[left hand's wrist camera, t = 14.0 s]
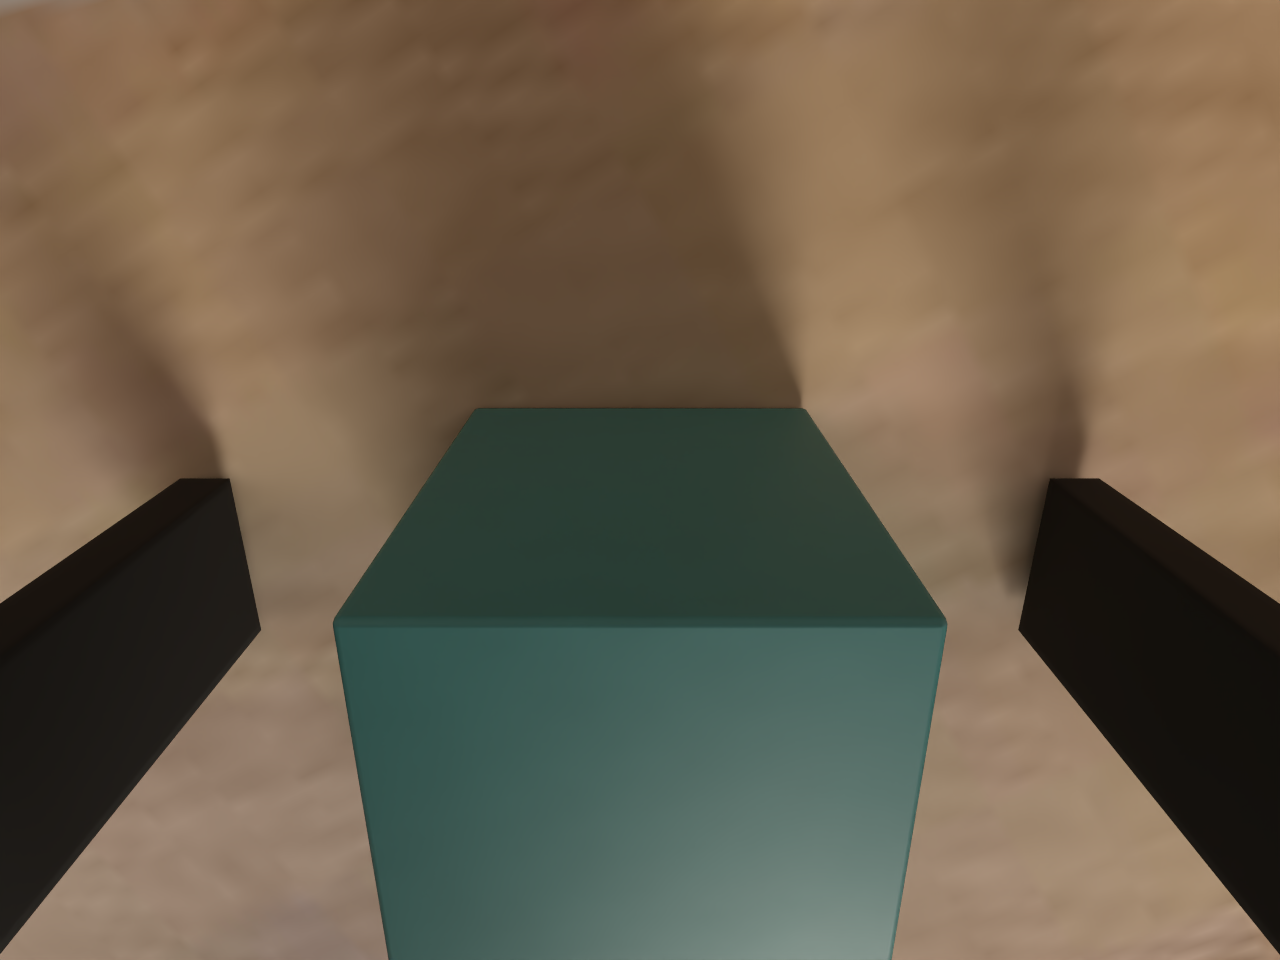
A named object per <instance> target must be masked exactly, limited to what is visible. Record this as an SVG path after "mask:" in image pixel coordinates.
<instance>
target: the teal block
mask: <svg viewBox="0 0 1280 960" xmlns="http://www.w3.org/2000/svg"><path fill="white" fill-rule="evenodd" d="M333 629H334V635H335V641H336V647H337V653H338V659H339V665H340V671H341V677H342V683H343V689H344V695H345V701H346V707H347V713H348V719H349V725H350V731H351V737H352V743H353V749H354V755H355V760H356V766H357V772H358V778H359V784H360V790H361V796H362V802H363V808H364V814H365V820H366V826H367V832H368V838H369V844H370V850H371V856H372V862H373V868H374V874H375V880H376V886H377V892H378V898H379V904H380V910H381V916H382V922H383V928H384V934H385V940H386V946H387V952H388V958H389V960H891V959H892V953H893V947H894V941H895V935H896V929H897V923H898V917H899V911H900V905H901V899H902V893H903V887H904V881H905V875H906V869H907V863H908V857H909V851H910V845H911V839H912V833H913V827H914V821H915V815H916V809H917V804H918V798H919V792H920V786H921V780H922V774H923V768H924V762H925V756H926V750H927V744H928V738H929V732H930V726H931V720H932V714H933V708H934V702H935V696H936V690H937V684H938V678H939V672H940V666H941V660H942V654H943V648H944V642H945V636H946V630H947V621H946V618H945V616H944V615H943V613H942V612H941V610H940V609H939V607H938V606H937V605H936V603H935V602H934V600H933V599H932V597H931V596H930V594H929V593H928V591H927V590H926V588H925V587H924V585H923V584H922V582H921V581H920V579H919V578H918V576H917V575H916V573H915V572H914V570H913V569H912V567H911V566H910V564H909V563H908V561H907V560H906V558H905V557H904V555H903V554H902V552H901V551H900V549H899V548H898V546H897V545H896V543H895V542H894V540H893V539H892V537H891V536H890V534H889V533H888V532H887V530H886V529H885V527H884V526H883V524H882V523H881V521H880V520H879V518H878V517H877V515H876V514H875V512H874V511H873V509H872V508H871V506H870V505H869V503H868V502H867V500H866V499H865V497H864V496H863V494H862V493H861V491H860V490H859V488H858V487H857V485H856V484H855V482H854V481H853V479H852V478H851V476H850V475H849V473H848V472H847V470H846V469H845V467H844V466H843V464H842V463H841V461H840V460H839V459H838V457H837V456H836V454H835V453H834V451H833V450H832V448H831V447H830V445H829V444H828V442H827V441H826V439H825V438H824V436H823V435H822V433H821V432H820V430H819V429H818V427H817V426H816V424H815V423H814V421H813V420H812V418H811V417H810V415H809V414H808V412H807V411H806V410H805V409H802V408H478V409H475V410H474V412H473V413H472V415H471V416H470V418H469V419H468V421H467V422H466V424H465V425H464V427H463V428H462V429H461V431H460V432H459V434H458V435H457V437H456V438H455V440H454V441H453V443H452V444H451V446H450V447H449V449H448V450H447V452H446V453H445V455H444V456H443V458H442V459H441V461H440V462H439V464H438V465H437V467H436V468H435V470H434V471H433V473H432V474H431V475H430V477H429V478H428V480H427V481H426V483H425V484H424V486H423V487H422V489H421V490H420V492H419V493H418V495H417V496H416V498H415V499H414V501H413V502H412V504H411V505H410V507H409V508H408V510H407V511H406V513H405V514H404V516H403V517H402V519H401V520H400V521H399V523H398V524H397V526H396V527H395V529H394V530H393V532H392V533H391V535H390V536H389V538H388V539H387V541H386V542H385V544H384V545H383V547H382V548H381V550H380V551H379V553H378V554H377V556H376V557H375V559H374V560H373V562H372V563H371V565H370V566H369V567H368V569H367V570H366V572H365V573H364V575H363V576H362V578H361V579H360V581H359V582H358V584H357V585H356V587H355V588H354V590H353V591H352V593H351V594H350V596H349V597H348V599H347V600H346V602H345V603H344V605H343V606H342V608H341V609H340V611H339V612H338V613H337V615H336V616H335V618H334V621H333Z"/></svg>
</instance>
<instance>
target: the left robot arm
mask: <svg viewBox="0 0 1280 960" xmlns="http://www.w3.org/2000/svg"><path fill="white" fill-rule="evenodd" d="M1018 630H1019V631H1020V632H1021V634H1022V635H1023V636H1024V637H1025V639H1026V640H1027V641H1028V642H1029V644H1030V645H1031V646H1032V647H1033V649H1034V650H1035V651H1036V652H1037V654H1038V655H1039V656H1040V657H1041V659H1042V660H1043V661H1044V662H1045V664H1046V665H1047V666H1048V667H1049V669H1050V670H1051V671H1052V672H1053V673H1054V675H1055V676H1056V677H1057V678H1058V680H1059V681H1060V682H1061V683H1062V685H1063V686H1064V687H1065V688H1066V690H1067V691H1068V692H1069V693H1070V695H1071V696H1072V697H1073V698H1074V700H1075V701H1076V702H1077V703H1078V705H1079V706H1080V707H1081V708H1082V709H1083V711H1084V712H1085V713H1086V714H1087V716H1088V717H1089V718H1090V719H1091V721H1092V722H1093V723H1094V724H1095V726H1096V727H1097V728H1098V729H1099V731H1100V732H1101V733H1102V734H1103V736H1104V737H1105V738H1106V739H1107V741H1108V742H1109V743H1110V744H1111V746H1112V747H1113V748H1114V749H1115V750H1116V752H1117V753H1118V754H1119V755H1120V757H1121V758H1122V759H1123V760H1124V762H1125V763H1126V764H1127V765H1128V767H1129V768H1130V769H1131V770H1132V772H1133V773H1134V774H1135V775H1136V777H1137V778H1138V779H1139V780H1140V782H1141V783H1142V784H1143V785H1144V787H1145V788H1146V789H1147V790H1148V791H1149V793H1150V794H1151V795H1152V796H1153V798H1154V799H1155V800H1156V801H1157V803H1158V804H1159V805H1160V806H1161V808H1162V809H1163V810H1164V811H1165V813H1166V814H1167V815H1168V816H1169V818H1170V819H1171V820H1172V821H1173V823H1174V824H1175V825H1176V826H1177V828H1178V829H1179V830H1180V831H1181V832H1182V834H1183V835H1184V836H1185V837H1186V839H1187V840H1188V841H1189V842H1190V844H1191V845H1192V846H1193V847H1194V849H1195V850H1196V851H1197V852H1198V854H1199V855H1200V856H1201V857H1202V859H1203V860H1204V861H1205V862H1206V864H1207V865H1208V866H1209V867H1210V869H1211V870H1212V871H1213V872H1214V873H1215V875H1216V876H1217V877H1218V878H1219V880H1220V881H1221V882H1222V883H1223V885H1224V886H1225V887H1226V888H1227V890H1228V891H1229V892H1230V893H1231V895H1232V896H1233V897H1234V898H1235V900H1236V901H1237V902H1238V903H1239V905H1240V906H1241V907H1242V908H1243V910H1244V911H1245V912H1246V913H1247V914H1248V916H1249V917H1250V918H1251V919H1252V921H1253V922H1254V923H1255V924H1256V926H1257V927H1258V928H1259V929H1260V931H1261V932H1262V933H1263V934H1264V936H1265V937H1266V938H1267V939H1268V941H1269V942H1270V943H1271V944H1272V946H1273V947H1274V948H1275V949H1276V951H1277V952H1278V953H1279V954H1280V604H1279V603H1278V602H1276V601H1275V600H1273V599H1272V598H1271V597H1269V596H1268V595H1266V594H1265V593H1263V592H1262V591H1260V590H1259V589H1258V588H1256V587H1255V586H1253V585H1252V584H1250V583H1249V582H1247V581H1246V580H1245V579H1243V578H1242V577H1240V576H1239V575H1237V574H1236V573H1234V572H1233V571H1232V570H1230V569H1229V568H1227V567H1226V566H1224V565H1223V564H1222V563H1220V562H1219V561H1217V560H1216V559H1214V558H1213V557H1211V556H1210V555H1209V554H1207V553H1206V552H1204V551H1203V550H1201V549H1200V548H1198V547H1197V546H1196V545H1194V544H1193V543H1191V542H1190V541H1188V540H1187V539H1185V538H1184V537H1183V536H1181V535H1180V534H1178V533H1177V532H1175V531H1174V530H1173V529H1171V528H1170V527H1168V526H1167V525H1165V524H1164V523H1162V522H1161V521H1160V520H1158V519H1157V518H1155V517H1154V516H1152V515H1151V514H1149V513H1148V512H1147V511H1145V510H1144V509H1142V508H1141V507H1139V506H1138V505H1136V504H1135V503H1134V502H1132V501H1131V500H1129V499H1128V498H1126V497H1125V496H1124V495H1122V494H1121V493H1119V492H1118V491H1116V490H1115V489H1113V488H1112V487H1111V486H1109V485H1108V484H1106V483H1105V482H1103V481H1102V480H1100V479H1050V481H1049V486H1048V490H1047V495H1046V500H1045V505H1044V510H1043V514H1042V519H1041V524H1040V529H1039V534H1038V538H1037V543H1036V548H1035V553H1034V558H1033V562H1032V567H1031V572H1030V577H1029V581H1028V586H1027V591H1026V596H1025V601H1024V605H1023V610H1022V615H1021V620H1020V625H1019V629H1018ZM260 631H261V627H260V623H259V618H258V613H257V608H256V603H255V599H254V594H253V589H252V584H251V579H250V575H249V570H248V565H247V560H246V556H245V551H244V546H243V541H242V536H241V532H240V527H239V522H238V517H237V513H236V508H235V503H234V498H233V493H232V489H231V484H230V479H179V480H178V481H176V482H175V483H173V484H172V485H170V486H169V487H168V488H166V489H165V490H163V491H162V492H160V493H159V494H157V495H156V496H155V497H153V498H152V499H150V500H149V501H147V502H146V503H144V504H143V505H142V506H140V507H139V508H137V509H136V510H134V511H133V512H131V513H130V514H129V515H127V516H126V517H124V518H123V519H121V520H120V521H118V522H117V523H116V524H114V525H113V526H111V527H110V528H108V529H107V530H106V531H104V532H103V533H101V534H100V535H98V536H97V537H95V538H94V539H93V540H91V541H90V542H88V543H87V544H85V545H84V546H82V547H81V548H80V549H78V550H77V551H75V552H74V553H72V554H71V555H69V556H68V557H67V558H65V559H64V560H62V561H61V562H59V563H58V564H56V565H55V566H54V567H52V568H51V569H49V570H48V571H46V572H45V573H44V574H42V575H41V576H39V577H38V578H36V579H35V580H33V581H32V582H31V583H29V584H28V585H26V586H25V587H23V588H22V589H20V590H19V591H18V592H16V593H15V594H13V595H12V596H10V597H9V598H7V599H6V600H5V601H3V602H2V603H0V954H1V952H2V951H3V950H4V949H5V947H6V946H7V945H8V944H9V942H10V941H11V940H12V939H13V937H14V936H15V935H16V934H17V932H18V931H19V930H20V929H21V927H22V926H23V925H24V924H25V922H26V921H27V920H28V919H29V917H30V916H31V915H32V914H33V913H34V911H35V910H36V909H37V908H38V906H39V905H40V904H41V903H42V901H43V900H44V899H45V898H46V896H47V895H48V894H49V893H50V891H51V890H52V889H53V888H54V886H55V885H56V884H57V883H58V881H59V880H60V879H61V878H62V877H63V875H64V874H65V873H66V872H67V870H68V869H69V868H70V867H71V865H72V864H73V863H74V862H75V860H76V859H77V858H78V857H79V855H80V854H81V853H82V852H83V850H84V849H85V848H86V847H87V845H88V844H89V843H90V842H91V841H92V839H93V838H94V837H95V836H96V834H97V833H98V832H99V831H100V829H101V828H102V827H103V826H104V824H105V823H106V822H107V821H108V819H109V818H110V817H111V816H112V814H113V813H114V812H115V811H116V809H117V808H118V807H119V806H120V804H121V803H122V802H123V801H124V800H125V798H126V797H127V796H128V795H129V793H130V792H131V791H132V790H133V788H134V787H135V786H136V785H137V783H138V782H139V781H140V780H141V778H142V777H143V776H144V775H145V773H146V772H147V771H148V770H149V768H150V767H151V766H152V765H153V764H154V762H155V761H156V760H157V759H158V757H159V756H160V755H161V754H162V752H163V751H164V750H165V749H166V747H167V746H168V745H169V744H170V742H171V741H172V740H173V739H174V737H175V736H176V735H177V734H178V732H179V731H180V730H181V729H182V728H183V726H184V725H185V724H186V723H187V721H188V720H189V719H190V718H191V716H192V715H193V714H194V713H195V711H196V710H197V709H198V708H199V706H200V705H201V704H202V703H203V701H204V700H205V699H206V698H207V696H208V695H209V694H210V693H211V691H212V690H213V689H214V688H215V687H216V685H217V684H218V683H219V682H220V680H221V679H222V678H223V677H224V675H225V674H226V673H227V672H228V670H229V669H230V668H231V667H232V665H233V664H234V663H235V662H236V660H237V659H238V658H239V657H240V655H241V654H242V653H243V652H244V651H245V649H246V648H247V647H248V646H249V644H250V643H251V642H252V641H253V639H254V638H255V637H256V636H257V634H258V633H259V632H260Z"/></svg>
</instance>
